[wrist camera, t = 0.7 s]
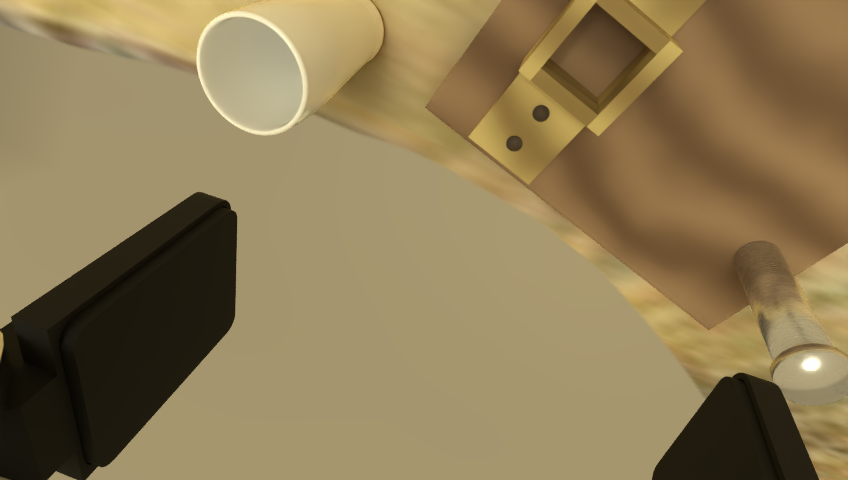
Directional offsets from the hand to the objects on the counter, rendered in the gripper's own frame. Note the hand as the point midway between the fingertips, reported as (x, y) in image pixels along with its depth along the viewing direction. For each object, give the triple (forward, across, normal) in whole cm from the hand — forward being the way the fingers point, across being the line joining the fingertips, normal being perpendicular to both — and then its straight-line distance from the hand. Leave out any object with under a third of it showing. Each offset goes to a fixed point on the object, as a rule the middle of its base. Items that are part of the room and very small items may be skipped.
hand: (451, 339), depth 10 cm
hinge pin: (+32, -20, +11) cm, 39 cm away
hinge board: (+33, -10, +3) cm, 35 cm away
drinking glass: (+33, +14, +3) cm, 36 cm away
